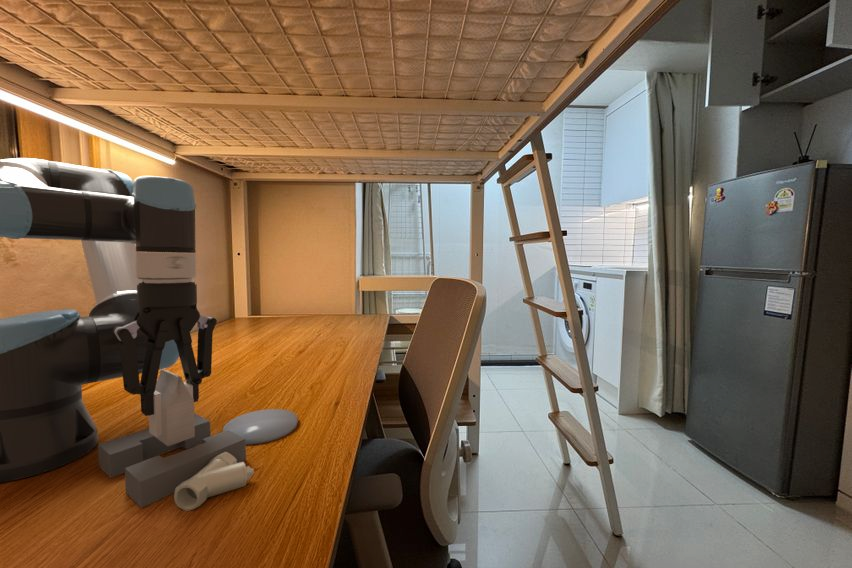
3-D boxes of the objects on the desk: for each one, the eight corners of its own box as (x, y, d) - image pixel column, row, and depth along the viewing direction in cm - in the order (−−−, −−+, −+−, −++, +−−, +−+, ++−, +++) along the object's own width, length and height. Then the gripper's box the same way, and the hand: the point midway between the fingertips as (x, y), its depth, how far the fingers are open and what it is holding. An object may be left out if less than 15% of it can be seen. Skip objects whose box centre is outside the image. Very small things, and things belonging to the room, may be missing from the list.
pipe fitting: (257, 480, 54) (214, 474, 55) (258, 455, 54) (216, 449, 55) (222, 518, 46) (173, 510, 47) (224, 488, 46) (174, 481, 47)
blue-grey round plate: (209, 431, 68) (209, 426, 68) (272, 408, 79) (272, 404, 79) (247, 452, 61) (247, 446, 61) (311, 424, 72) (311, 419, 72)
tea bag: (167, 446, 54) (165, 380, 53) (150, 433, 58) (148, 371, 57) (194, 436, 57) (193, 374, 57) (176, 424, 61) (174, 366, 60)
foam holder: (98, 465, 57) (97, 444, 56) (195, 431, 68) (195, 413, 68) (141, 507, 47) (140, 481, 47) (245, 459, 59) (245, 438, 59)
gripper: (105, 284, 47) (112, 459, 48) (234, 279, 61) (237, 415, 62) (87, 281, 51) (94, 442, 53) (212, 278, 65) (215, 405, 67)
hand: (172, 427), depth 57 cm, fingers closed on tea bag, 4 cm apart
